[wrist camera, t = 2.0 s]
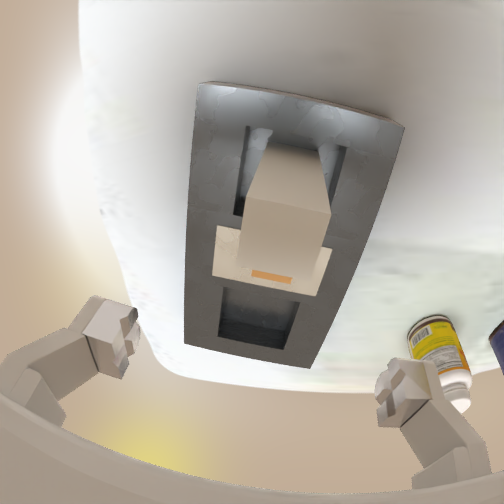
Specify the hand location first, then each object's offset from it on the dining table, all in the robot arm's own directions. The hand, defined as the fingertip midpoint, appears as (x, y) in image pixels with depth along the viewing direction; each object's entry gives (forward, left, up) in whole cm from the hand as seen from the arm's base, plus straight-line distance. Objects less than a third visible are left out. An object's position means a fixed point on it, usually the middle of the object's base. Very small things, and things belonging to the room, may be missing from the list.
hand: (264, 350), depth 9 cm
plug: (0, 0, -16) cm, 16 cm away
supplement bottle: (+13, +19, -17) cm, 28 cm away
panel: (+6, 0, -16) cm, 17 cm away
